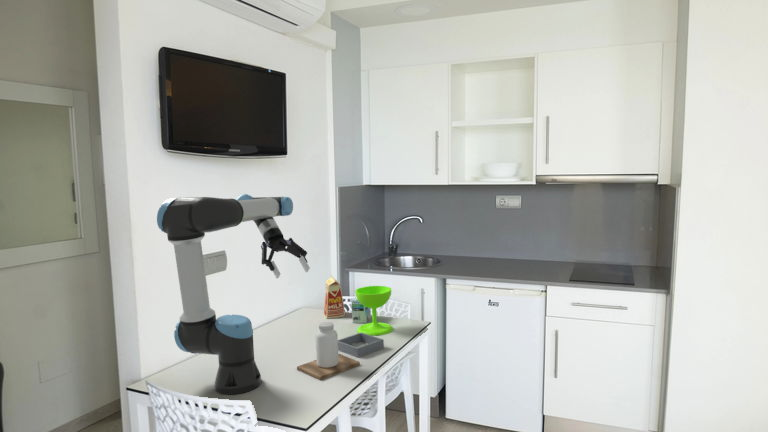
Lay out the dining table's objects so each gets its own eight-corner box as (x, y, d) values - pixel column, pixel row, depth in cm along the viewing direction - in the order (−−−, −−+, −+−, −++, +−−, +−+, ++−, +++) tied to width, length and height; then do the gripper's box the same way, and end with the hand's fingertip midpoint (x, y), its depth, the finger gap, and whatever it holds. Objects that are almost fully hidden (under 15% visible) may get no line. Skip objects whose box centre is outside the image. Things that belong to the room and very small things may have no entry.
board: (319, 380, 177) (319, 376, 177) (297, 369, 187) (296, 366, 187) (359, 364, 189) (359, 361, 189) (336, 355, 199) (336, 352, 199)
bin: (357, 357, 196) (357, 348, 196) (335, 349, 206) (335, 340, 206) (383, 347, 206) (383, 339, 205) (361, 340, 216) (361, 332, 215)
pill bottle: (341, 366, 186) (339, 325, 184) (319, 370, 183) (317, 328, 181) (335, 358, 193) (333, 319, 192) (314, 362, 190) (312, 322, 189)
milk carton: (323, 314, 257) (321, 274, 255) (341, 312, 259) (339, 272, 257) (327, 319, 248) (324, 278, 246) (345, 316, 251) (343, 276, 249)
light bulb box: (366, 323, 239) (365, 300, 238) (352, 323, 240) (350, 300, 239) (371, 316, 249) (370, 294, 248) (357, 316, 251) (356, 294, 250)
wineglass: (397, 325, 234) (395, 286, 232) (386, 336, 219) (385, 295, 217) (364, 323, 239) (362, 285, 237) (351, 334, 224) (349, 293, 222)
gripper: (293, 235, 223) (316, 273, 214) (240, 242, 206) (262, 284, 197) (299, 223, 219) (322, 262, 209) (246, 230, 202) (268, 272, 192)
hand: (293, 273), depth 203 cm, fingers open, 13 cm apart
